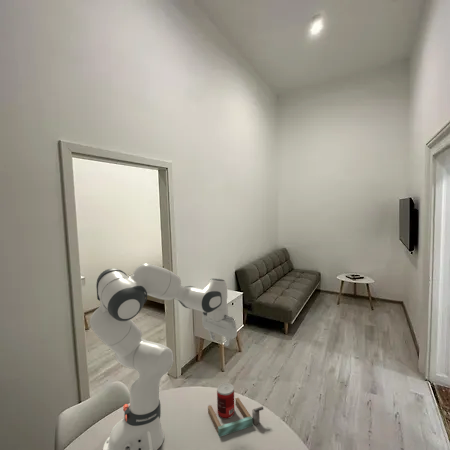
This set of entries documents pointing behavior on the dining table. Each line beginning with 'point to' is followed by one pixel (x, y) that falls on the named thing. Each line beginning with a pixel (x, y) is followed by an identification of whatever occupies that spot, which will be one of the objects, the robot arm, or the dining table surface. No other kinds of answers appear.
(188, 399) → the dining table surface
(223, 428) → the bay
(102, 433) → the dining table surface
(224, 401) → the canned food
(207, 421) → the dining table surface
